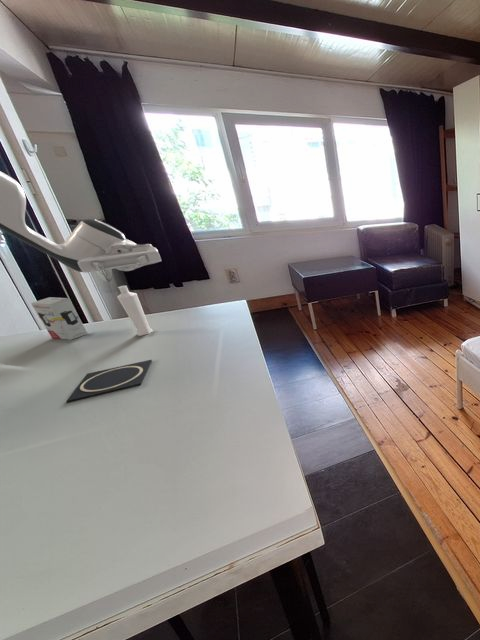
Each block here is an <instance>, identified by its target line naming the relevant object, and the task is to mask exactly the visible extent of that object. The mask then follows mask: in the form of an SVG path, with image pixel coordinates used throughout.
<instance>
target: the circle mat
mask: <svg viewBox="0 0 480 640" xmlns="http://www.w3.org/2000/svg"><path fill="white" fill-rule="evenodd" d="M152 362H153V360H152V359H147V360H143V361H139V362H134V363H129V364H125V365H120V366H115V367H111V368H106V369H101V370H97V371H93V372H88V373H86V375H85V376H84V377H83V379H82V380H81V381H80V382H79V384H78V385H77V386H76V387H75V389H74V390H73V392H72V393H71V394H70V395H69V397H68V398H67V399H66V403H71V402H75V401H76V402H77V401H79V400H83V399H88V398H92V397H96V396H101V395H104V394H108V393H112V392H117V391H121V390H126V389H130V388H133V387H139V386H141V385H142V383H143V381H144V379H145V377H146V375H147V373H148V370H149V369H150V366H151V364H152Z"/></svg>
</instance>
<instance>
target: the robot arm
mask: <svg viewBox="0 0 480 640" xmlns="http://www.w3.org/2000/svg"><path fill="white" fill-rule="evenodd" d="M26 208H27V197H26V194H25V190H24V189H23V187H22V186H21V184H20V183H19V182H18V181H17V180H16V179H14V177H11V175H8V174H6V173H5V172H2V171H1V170H0V230H2V231H4V232H6V233H7V234H9V235H11V236H12V237H15V238H16V239H18V240H19V241H22V242H23V243H25V244H27V245H28V246H31V247H32V248H34V249H36V250H38V251H39V252H42V253H43V254H45V255H47V256H49V257H51V258H52V259H54V260H55V261H57V262H59V263H61V264H62V265H63V266H65V267H67V268H69V269H71V270H73V271H75V272H79V273H86V274H87V273H92V272H99V271H107V270H114V269H116V270H118V271H122V272H130V271H135V270H137V269H139V268H141V267H144V266H149V265H154V264H157V263H160V262H163V261H162V257H161V255H160V253H159V250H158V249H157V247H154V246H153V245H152V244H151V243H138V244H137V243H135V242H134V241H132V240H131V239H130V240H129V239H128V238H126V236H125V234H124V233H123V232H122V231H121V230H120V229H117V228H116V227H114V226H112V225H111V224H109V223H107V222H104V221H102V220H99V219H94V218H88V219H87V218H86V219H82V220H81V221H80V222H79V223H78V224H77V226H75V228H74V229H73V231H71V234H70V235H69V236H68V237H67V238H66V239H65V241H64V242H62V243H60V244H59V243H56V242H54V241H52V240H51V239H48V238H47V237H46V236H43V235H42V234H40V233H39V232H37V231H36V230H33V229H32V228H30V227H29V226H28V225H27V224H26V223H27V222H26Z"/></svg>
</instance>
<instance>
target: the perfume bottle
mask: <svg viewBox="0 0 480 640" xmlns="http://www.w3.org/2000/svg"><path fill="white" fill-rule="evenodd" d="M117 288H118V290H119V292H120V294H118V295H117V296H116V298H117V299H118V301H119V303H120V305H121V306H122V308H123V310H124V311H125V313H126V315H127V316H128V318H129V319H130V321H131V323H132V325H133V326H134V328H135V329H136V334H137V336H138V337H139V336H146V335H149V334H151V333H153V331H154V330H153V329H152V328H151V327H150V326H149V322H148V320H147V317H146V314H145V312H144V309H143V306H142V304H141V301H140V299H139V296H138V293H137V292H131V291H130V290H129V288H128V285H120V286H117Z"/></svg>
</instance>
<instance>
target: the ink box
mask: <svg viewBox="0 0 480 640" xmlns="http://www.w3.org/2000/svg"><path fill="white" fill-rule="evenodd" d="M30 305H31V306H32V308H33V310H34V311H35V313H36V314H37V316H38V319H40V321H41V323H42V324H43V326H44V327H45V329H46V331H47V332H48V334H49V336H50V337H51V339H57V340H67V341H68V340H70V341H72V340H74V339H77V338H80V337H83V336H85V335H88V334H89V332H88V330H87V329H86V327H85V326H84V324H83V322H82V320H81V319H80V317H79V314H78V313H77V311H76V309H75V307H74V306H73V304H72V303H71V300H70V299H69V298H68V297H52V296H49V297H46V298H43V299H39V300H36V301H33V302H30Z"/></svg>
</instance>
